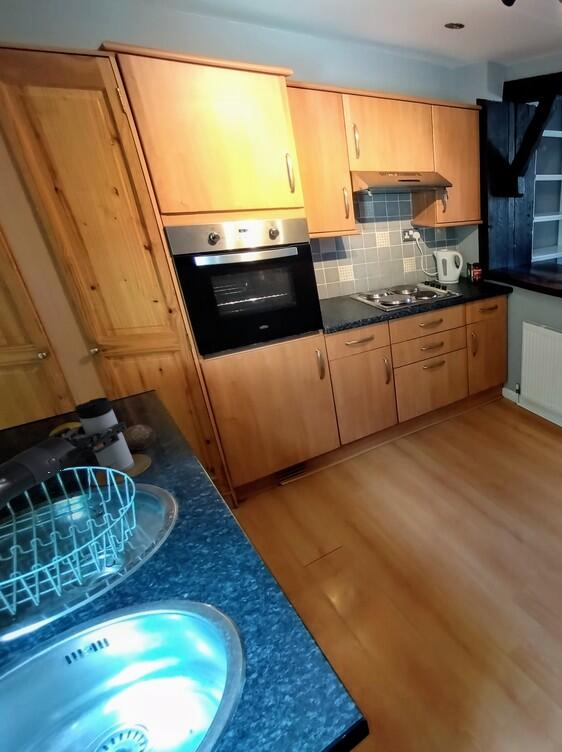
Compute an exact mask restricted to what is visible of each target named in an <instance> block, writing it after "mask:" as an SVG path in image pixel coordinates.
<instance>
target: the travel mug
mask: <svg viewBox="0 0 562 752" xmlns="http://www.w3.org/2000/svg"><path fill="white" fill-rule="evenodd" d="M74 409H75V411H76V414H77V415H78V419H79V422H80V423H81V424H82V426H83V428H84V430H85V433H86V434H88V433H91V432H95V431H98V432H101V431H104V430H107V429H109V428H110V427H112V426H114V425H116V424H118V423H119V422H118V419H117V417H116V415H115V412H114V409H113V407H112V406H111V403H110V400H109V398H108V397H97V398H93V399H90V400H89V401H86V402H83V403H79V404H77V405H75V407H74ZM122 433H123V432H121V433H119V434H118V437H119V439H120V440H119V441H117V442H115V443H114V444H112V445H111V446H109V447H107V448H106V449H104V450H102V451H101V452H99V453H94V455H95V457H96V460H97V462H98V465H99V466H101V467H108V468H113V469H116V470H120V471H122V472H126V471H128V470H130V469H131V468H132V467H133V466H134V461H133V459H132V456H131V455H132V453H131V451H130V449H129V448H128V446H127V444H126V441H125V439H124V437H123V434H122ZM104 435H106V434H104ZM104 435H101V437H102V436H104ZM92 437H93V440H97V438H96V436H92ZM92 451H93V452H94V450H92ZM103 473H104V475H106V472H104V471H103ZM117 475H118V474H117Z"/></svg>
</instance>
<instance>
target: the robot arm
mask: <svg viewBox="0 0 562 752" xmlns="http://www.w3.org/2000/svg"><path fill="white" fill-rule="evenodd" d="M126 429H128V426H127V423H126V422H125V421H119V422H118V424H116V425H114V426H112V427H110V428H109V429H107V430H104V431H101V432H98V431H95V432H91V433H88V434H86V433H85V430H84V428H83V426H82V425H81V426H80V427H74V428H72V429H70V428H65V429H63V430H61V431H59V432H57V433H55V434H53V435H51V436H47V437H45V438H43V439H42V440H41V442H39V443H37V444H35V445H33V446H31V447H30V448H27V449H26V450H24V451H21V452H20V453H18V454H16V455H15V456H13V457H12V458H10V459H9V460H6V461H5V462H4V463H1V464H0V511H1V510H2V509H3V508H5V506H7V505H8V504H9V503H10V501H12V500H13V499H15V498H17V497H18V496H20V495H22V494H24V493H25V492H28V491H29V490H30V489H32V488H34V487H35V486H38V485H40V484H42V483H44V482H47V481H49V480H50V479H51V478H53V477H55V476H56V475H58V474H60V473H61V472H63V471H65V470H66V469H68V468H70V467H71V466H73V465H74V464H76V463H77V461H78V459H79V456H80V455H81V454H83V453H85V452H88V451H93V450H94V451H93V453H94V454H95V453H99V452H101V451H102V450H104V449H106V448H107V447H109V446H111V445H112V444H114V443H115V442H117V441H119V440H120V439H119V437H118V434H119V433H121V432H122V433H123V432H124V431H125V430H126ZM64 433H65V436H64V437H62V434H64ZM104 434H106V435H104ZM101 435H104V436H102V437H101ZM92 436H96V438H97V440H93V437H92ZM64 469H65V470H64ZM60 470H61V471H60ZM48 472H50V473H48Z"/></svg>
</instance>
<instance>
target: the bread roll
mask: <svg viewBox="0 0 562 752" xmlns="http://www.w3.org/2000/svg"><path fill="white" fill-rule="evenodd" d="M81 425H82V424H81V422H77V421H76V422H75V421H74V422H66V423H63V424H60V425H58V426H57V427H55V428H54V429H53V430H52V431H50V433H49V436H51V435H53V434H55V433H57V432H59V431H61V430H63V429H65V428H70V429H72V428H74V427H80V426H81ZM49 436H48V437H49ZM64 436H65V433H64V434H62V437H64Z"/></svg>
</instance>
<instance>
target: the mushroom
mask: <svg viewBox="0 0 562 752" xmlns="http://www.w3.org/2000/svg"><path fill="white" fill-rule="evenodd" d="M122 434H123V437H124V439H125V441H126V444H127V446H128V449H129V450H132V451H141V450H145V449H147V448H150V447H151V446H152V445H154V443H155V442H156V441H157V436H158V435H157V432H156V431H155V430H154V429H153V428H152V427H151V426H149V425H147V424H135V425H132V426H129V427H127V429H126V430H124V431H123V432H122Z"/></svg>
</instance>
